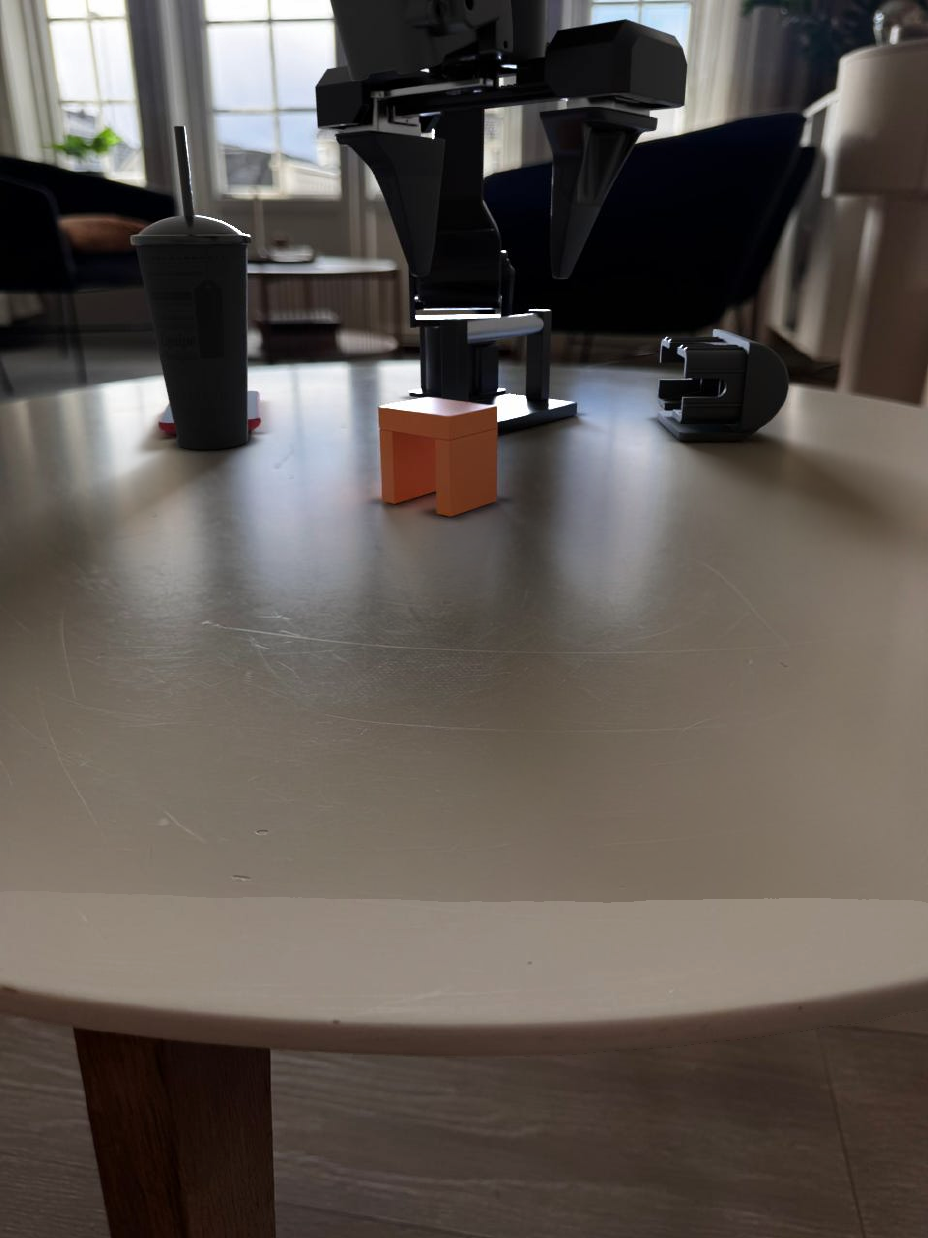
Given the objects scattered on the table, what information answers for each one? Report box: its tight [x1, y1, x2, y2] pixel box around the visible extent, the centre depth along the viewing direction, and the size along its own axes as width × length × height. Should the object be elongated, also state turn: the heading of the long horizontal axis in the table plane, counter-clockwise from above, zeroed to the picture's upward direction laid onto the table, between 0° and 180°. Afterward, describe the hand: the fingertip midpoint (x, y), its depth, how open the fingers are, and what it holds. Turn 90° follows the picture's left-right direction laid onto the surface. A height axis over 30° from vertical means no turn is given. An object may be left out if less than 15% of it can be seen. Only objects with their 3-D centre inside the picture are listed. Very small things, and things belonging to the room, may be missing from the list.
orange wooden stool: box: [377, 397, 498, 518], centre depth 50 cm, size 5×4×5 cm
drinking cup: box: [129, 125, 252, 451], centre depth 62 cm, size 8×8×20 cm
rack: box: [441, 308, 578, 436], centre depth 71 cm, size 7×12×8 cm, turn 141°
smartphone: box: [158, 390, 262, 435], centre depth 75 cm, size 7×1×15 cm
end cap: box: [656, 328, 790, 443], centre depth 68 cm, size 10×7×7 cm
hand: (486, 277), depth 48 cm, fingers open, 9 cm apart
